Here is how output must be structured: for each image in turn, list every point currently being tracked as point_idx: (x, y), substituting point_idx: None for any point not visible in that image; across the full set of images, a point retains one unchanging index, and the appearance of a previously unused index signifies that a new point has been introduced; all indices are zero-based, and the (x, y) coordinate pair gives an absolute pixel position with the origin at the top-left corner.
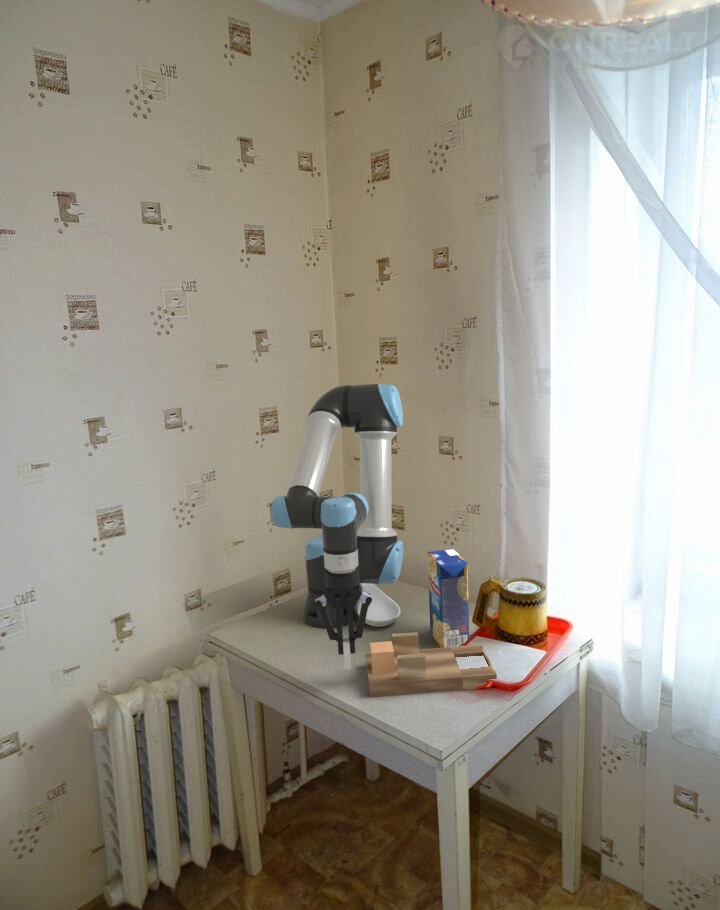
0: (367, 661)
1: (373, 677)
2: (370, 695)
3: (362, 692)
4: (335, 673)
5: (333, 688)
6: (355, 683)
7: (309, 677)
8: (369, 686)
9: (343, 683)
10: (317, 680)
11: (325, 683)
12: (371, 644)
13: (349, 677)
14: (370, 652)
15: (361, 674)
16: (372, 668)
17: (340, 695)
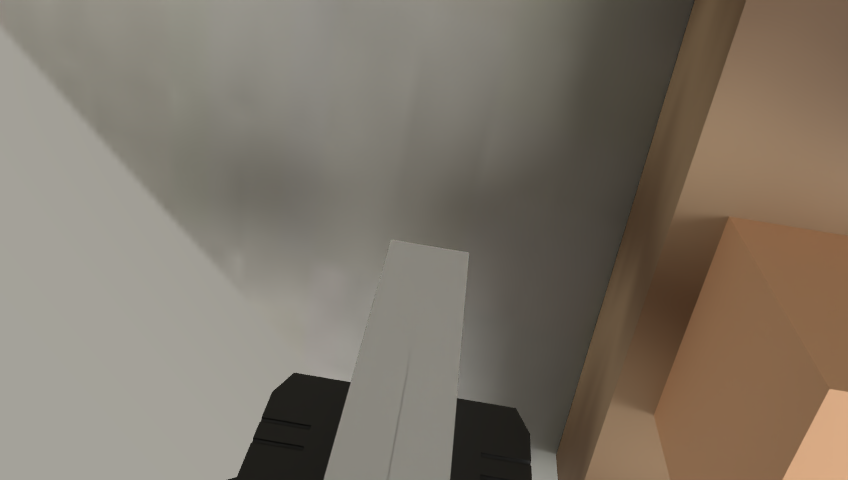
0: (700, 177)
1: (636, 467)
2: (558, 467)
3: (516, 385)
4: (332, 9)
5: (290, 264)
6: (493, 250)
7: (58, 6)
8: (573, 459)
9: (386, 217)
10: (144, 91)
11: (222, 167)
12: (823, 446)
13: (462, 134)
14: (769, 300)
15: (595, 116)
16: (665, 459)
17: (337, 369)
